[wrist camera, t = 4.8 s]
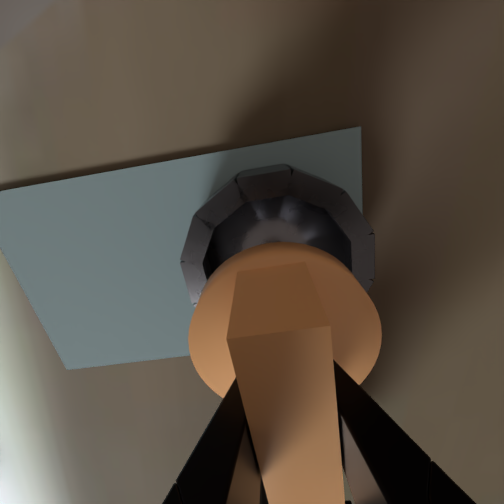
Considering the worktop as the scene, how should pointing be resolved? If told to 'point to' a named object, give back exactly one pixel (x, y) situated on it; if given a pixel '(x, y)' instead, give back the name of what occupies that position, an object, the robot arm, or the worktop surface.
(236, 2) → the worktop surface
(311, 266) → the rotary knob
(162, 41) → the worktop surface
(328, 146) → the mat
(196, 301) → the black ring
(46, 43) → the worktop surface
